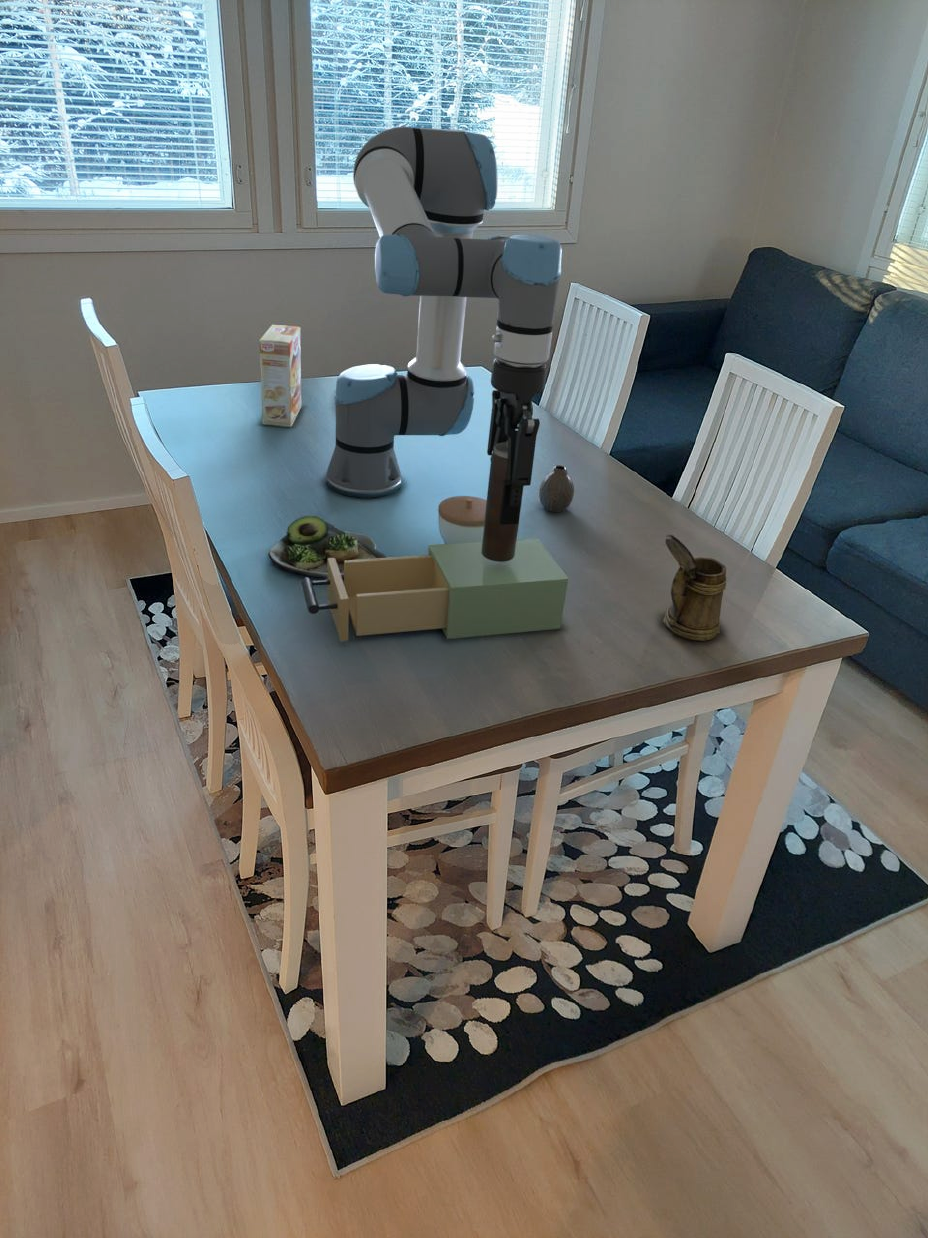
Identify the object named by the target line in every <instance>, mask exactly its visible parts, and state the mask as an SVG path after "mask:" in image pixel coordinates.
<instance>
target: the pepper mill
mask: <svg viewBox="0 0 928 1238" xmlns="http://www.w3.org/2000/svg"><path fill="white" fill-rule="evenodd" d="M490 458H491V461H490V466H489V475H488V485H487V492H486V500H487V503H486V512H485V522H484V531H483V541H482V551H481V553H482V555H483V556H484V557H485V558H487V559H489V560H492V561H497V562H505V561H509V560H512V559H513V558H514V556H515V549H516V542H517V540H518V533H519V526H520V522H519V523H518V524H506V525H501V524H500V514H501V505H502V497H503V488H504V485H503V483H502V481H505V480H507V466H508V440H507V442H503V443H498V444H496V445H495V446H494V449H493V450H492V455H490ZM524 487H525V486H523V488H524ZM523 494H524V490H523V491H522V496H524V495H523ZM522 502H523V498H522V499H521V504H522ZM521 510H522V506H521V507H520V511H521ZM520 518H521V514H520V515H519V519H520Z"/></svg>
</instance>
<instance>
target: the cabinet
mask: <svg viewBox="0 0 928 1238" xmlns="http://www.w3.org/2000/svg"><path fill="white" fill-rule="evenodd" d="M481 551H482V542H469V543H452V544H446V543H437V544H428V549H427V555H432V557H433V559H434V561H435V563H436V564H437V566H438V568H439V570H440V572H441V574H442V576H443V578H444V580H445V582H446V583H447V585H448V587H449V589H450V593H449V605H448V617H447V628H441V629H442V632H443V634H444V635H445V638H446V639H447V640H453V639H454V640H455V639H462V638H463V639H464V638H473V637H475V638H476V637H485V636H486V637H487V636H494V635H506V634H517V633H527V632H539V631H550V630H559V629H561V626H562V620H563V619H562V618H563V614H564V607H565V601H566V597H567V590H568V584H569V577H568V576H567V575H566V574H565V572H564V571H563V570H562V569H561V567H560V565H559V564H558V563H557V562H556V560H555V559H554V558H553V557H552V555H551V554H550V552H549V551H548V550H547V549H546V547H545V546H544V545H543V543H542V542H541V540H539V538H538V537H537V538H536V537H535V538H521V539H518V538H517V542H516V549H515V556H514V558H513V559H512V560H509V561H505V562H497V561H492V560H489V559H487V558H485V557H484V556H483V555H482V553H481Z"/></svg>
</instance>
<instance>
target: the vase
mask: <svg viewBox="0 0 928 1238" xmlns="http://www.w3.org/2000/svg"><path fill="white" fill-rule="evenodd" d="M571 477H572V476H570V474H569V472H568V468H567V467H566V466H564V465H561V464H560V465H559V464H558V465H555V466H553V468H552V470H550V472H548V474H546V475H545V476H544V477H543V479H542V480H541V483H540V485H539V490H538V491H539V492H538V496H539V497H538V498H539V501H540V504H541V505H542V507H543V508H544V509H545V510H546V511H549V512H552V513H560V512H564V511H565V510H566V509H568V508H569V507H570V505H571V504H572V502H573V499H574V495H575V484H574V481H573V479H572V478H571Z"/></svg>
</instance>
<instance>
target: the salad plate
mask: <svg viewBox="0 0 928 1238" xmlns="http://www.w3.org/2000/svg"><path fill="white" fill-rule="evenodd" d="M267 554H268V558H269V559H270V561H271V563H273V564H274V565H275V566H276V567H277V568H279V569H281V570H283V571H285V572H289V573H293V574H297V575H298V574H299V575H300V576H301V575H302V576H305V577H313V578H323V579H324V578H325V579H327V559H328V558H335V559H336V562H337V565H338V568H339V571H340V574H341V577H342V579H344V561H345V560H360V559H375V558H388V556H387V555H386V554H385V553H382V552H381V551H379V550H377V545H376V543H375V541H374V539H372V538H371V537H370V536H368V535H366V534H361V533H357V532H352V531H347V530H342V529H339V528H338V527H335V525H334V524H332V523H329V522H327V521H325V520H324V519H323V518H321V517H320V516H315V515H306V516H301V517H299V518H297V519H295V520H294V521H292V522H291V523H290V524H289V525H288V526H287V530H286V534H285V535H284V536H283V537H282V538H281V539H280V540H279V541H277V542H276V543H275V544H274V545H273V546H272V547H271V548H270V549H269V550H268V553H267Z"/></svg>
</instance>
